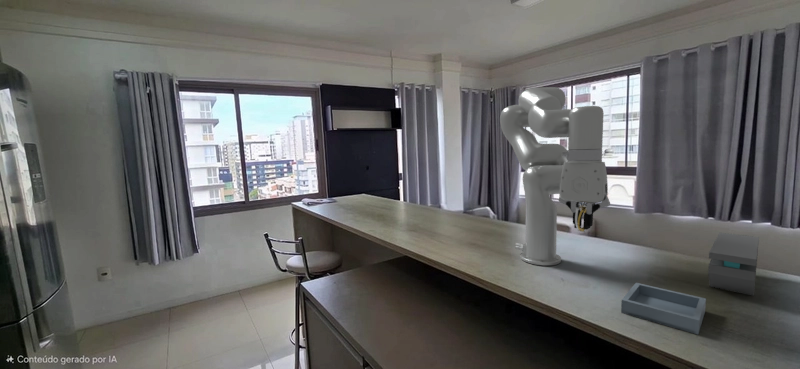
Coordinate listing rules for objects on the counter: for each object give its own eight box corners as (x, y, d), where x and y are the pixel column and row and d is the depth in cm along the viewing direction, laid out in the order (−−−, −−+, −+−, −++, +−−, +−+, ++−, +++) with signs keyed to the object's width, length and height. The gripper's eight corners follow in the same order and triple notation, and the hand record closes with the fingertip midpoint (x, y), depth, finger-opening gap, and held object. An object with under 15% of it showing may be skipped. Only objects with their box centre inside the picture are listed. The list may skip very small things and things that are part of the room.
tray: (621, 312, 74) (621, 299, 74) (635, 294, 83) (635, 282, 83) (698, 334, 65) (699, 320, 64) (705, 311, 73) (706, 298, 73)
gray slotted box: (752, 305, 76) (756, 259, 74) (706, 294, 81) (709, 252, 80) (755, 275, 92) (759, 237, 91) (717, 268, 98) (719, 232, 97)
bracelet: (582, 235, 81) (583, 203, 81) (569, 233, 84) (569, 202, 83) (595, 230, 86) (595, 200, 85) (582, 228, 88) (582, 199, 87)
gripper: (546, 157, 86) (545, 225, 88) (616, 157, 74) (613, 236, 76) (558, 156, 91) (557, 220, 93) (625, 155, 79) (622, 229, 81)
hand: (582, 227), depth 85 cm, fingers closed on bracelet, 1 cm apart
